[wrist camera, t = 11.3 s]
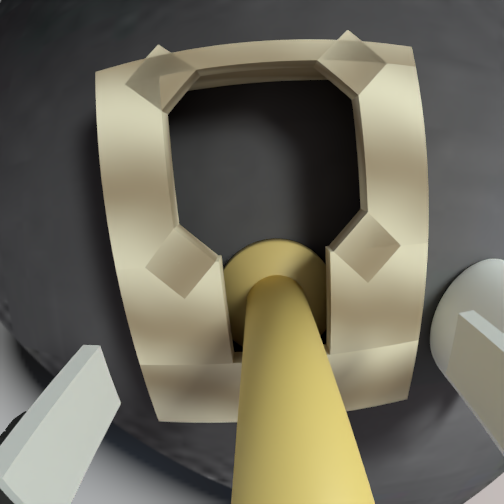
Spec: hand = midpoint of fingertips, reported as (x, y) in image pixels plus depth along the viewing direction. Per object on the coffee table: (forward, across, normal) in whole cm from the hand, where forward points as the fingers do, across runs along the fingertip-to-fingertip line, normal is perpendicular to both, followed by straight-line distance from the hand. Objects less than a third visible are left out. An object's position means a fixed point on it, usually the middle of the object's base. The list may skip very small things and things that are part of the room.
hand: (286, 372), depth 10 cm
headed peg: (+7, 0, 0) cm, 7 cm away
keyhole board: (+7, 0, +3) cm, 8 cm away
